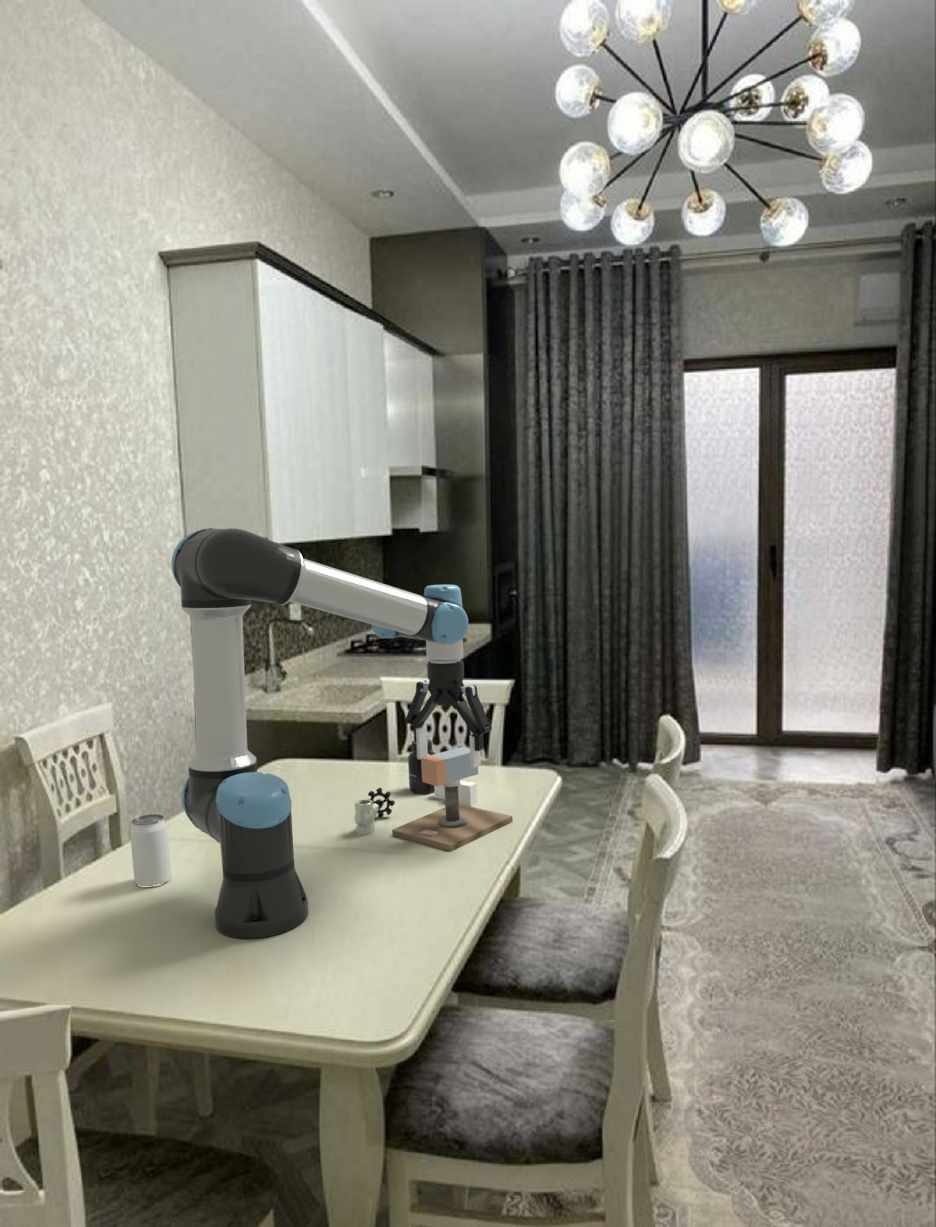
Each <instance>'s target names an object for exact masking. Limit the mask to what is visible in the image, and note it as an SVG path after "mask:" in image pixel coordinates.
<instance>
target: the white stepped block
mask: <svg viewBox="0 0 936 1227" xmlns="http://www.w3.org/2000/svg"><path fill="white" fill-rule="evenodd" d="M434 788H435V792H434V798H435V799H440V800H444V801H445V786H442V785H441V786H434ZM477 789H478V788H477V783H476V782H471V781H464V780H462V779H460V785H459V786H458V797H459V804H461V805H466V806H470V807H474V806H477V805H478V791H477Z"/></svg>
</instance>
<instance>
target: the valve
mask: <svg viewBox="0 0 936 1227" xmlns="http://www.w3.org/2000/svg"><path fill="white" fill-rule="evenodd" d="M375 792H376V793H375ZM367 795H368V797H370V799H368V798H367V799H366V798H365V799H359V800H356V802H354V808H355V809H354V810H355V814H354V821H355V824H356V826H355V827H356V829H355V830H356V834H358V835H360V836H367V835H372V834H373V833H374V832H375V831H376V830H375V829H376V828H375V821H376V820H375V819H376V817H378V818H380V819H382V818H383V817H384V815H385V814H384V813H386V815H388V816H389V815H391V814H392V812H393V809H391V808H390V806H391V807H393V806H395V804H396V801H395V800H392V799H390V798H389V797H391V796H392V793H391V791H389V790H388V791H386V792H385V793H383V788H382V787H378V788H377V789H376V791H373V790H370V791H369V792H368V794H367ZM376 797H382V798H384V799H382V798H379V799H376V800H375V798H376ZM385 803H386V807H385V808H383V807H384V806H385ZM382 808H383V809H382Z"/></svg>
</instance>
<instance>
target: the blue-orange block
mask: <svg viewBox="0 0 936 1227" xmlns="http://www.w3.org/2000/svg"><path fill="white" fill-rule="evenodd" d="M421 765H422V782H425V783H428V784H431V785H434V786H441V785H442V786H445V787H455V786H459V785H460V780H463V779H466V778H469V777H473V776H477V775H479V766H476V767H474V768H472V767H470V748H469V747H465V746H461V747H456V748H453V749H450V750H446V751H442V752H438V753H435V754H434V755H429V756H425V757H421Z"/></svg>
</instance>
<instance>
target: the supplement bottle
mask: <svg viewBox="0 0 936 1227" xmlns="http://www.w3.org/2000/svg"><path fill="white" fill-rule="evenodd" d="M427 748H428V756H429V755H434V754H436V752H434V751H433V750H432V749H433V742H432V740H431V739H428V738H427ZM411 751H412V752H410V753H409V755H408V757H407V761H408V762H407V765H408V767H407V768H408V786H409V787H408V788H409V791H410V793H412V794H415V795H428V794H433V793H435V788H434V785H431V784H428V783H425V782H422V765H421V759H417V742H415V741H414V740H413V741H411Z"/></svg>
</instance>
